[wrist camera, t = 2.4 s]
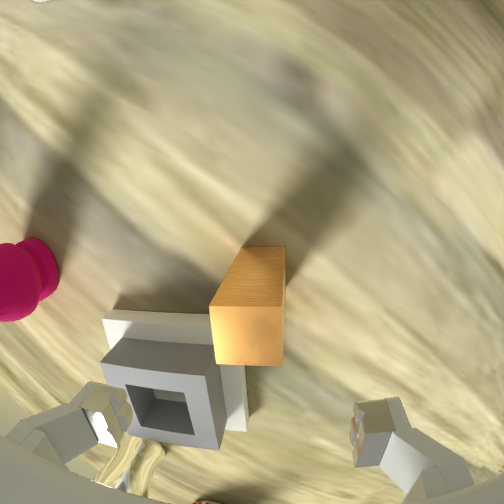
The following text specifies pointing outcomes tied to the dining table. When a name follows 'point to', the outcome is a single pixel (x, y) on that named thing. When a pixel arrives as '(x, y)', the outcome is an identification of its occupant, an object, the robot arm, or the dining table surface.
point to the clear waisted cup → (132, 465)
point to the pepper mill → (25, 277)
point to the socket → (174, 378)
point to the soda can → (206, 502)
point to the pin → (251, 309)
